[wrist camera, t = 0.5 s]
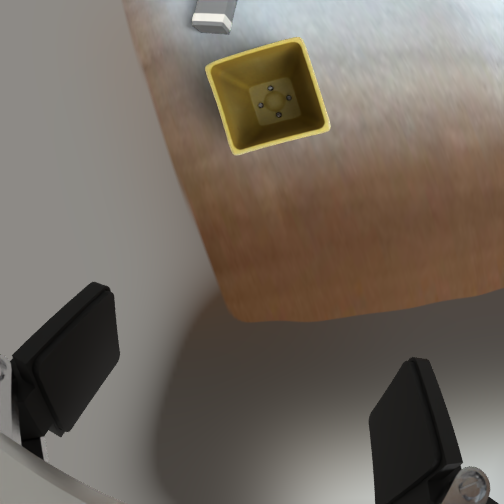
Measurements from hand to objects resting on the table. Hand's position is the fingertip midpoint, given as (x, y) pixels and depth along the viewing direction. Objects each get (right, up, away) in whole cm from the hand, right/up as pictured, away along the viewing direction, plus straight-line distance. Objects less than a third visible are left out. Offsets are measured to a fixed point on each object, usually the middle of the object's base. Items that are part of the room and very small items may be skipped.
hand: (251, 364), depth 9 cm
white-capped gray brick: (-3, +33, +18) cm, 38 cm away
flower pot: (+3, +20, +23) cm, 30 cm away
